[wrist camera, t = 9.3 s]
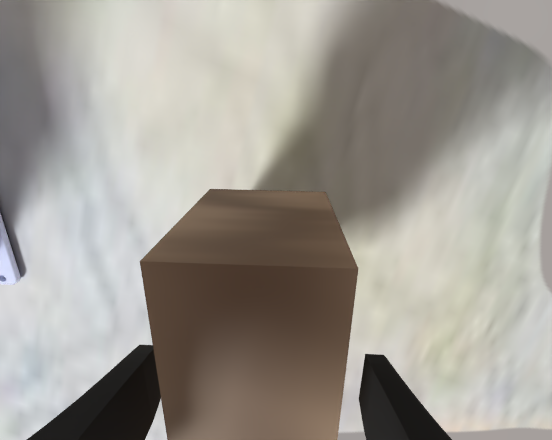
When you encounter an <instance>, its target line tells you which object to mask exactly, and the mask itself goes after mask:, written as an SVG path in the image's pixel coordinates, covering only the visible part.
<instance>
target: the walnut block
mask: <svg viewBox="0 0 552 440" xmlns="http://www.w3.org/2000/svg"><path fill="white" fill-rule="evenodd" d="M140 265H141V271H142V278H143V284H144V291H145V297H146V304H147V310H148V316H149V323H150V329H151V336H152V342H153V349H154V355H155V362H156V368H157V374H158V381H159V387H160V394H161V400H162V407H163V413H164V420H165V426H166V432H167V439H168V440H337V437H338V429H339V421H340V413H341V405H342V397H343V388H344V380H345V372H346V364H347V356H348V348H349V340H350V332H351V323H352V315H353V307H354V299H355V291H356V283H357V275H358V267H357V265H356V262H355V260H354V258H353V255H352V253H351V251H350V248H349V246H348V244H347V241H346V239H345V237H344V234H343V232H342V229H341V227H340V225H339V222H338V220H337V218H336V215H335V213H334V211H333V208H332V206H331V204H330V201H329V199H328V197H327V194H326V192H305V191H267V190H228V189H210V190H209V191H208V192H207V193H206V194H205V195H204V196H203V197H202V198H201V199H200V200H199V201H198V202H197V203H196V204H195V205H194V206H193V207H192V208H191V209H190V210H189V211H188V212H187V213H186V214H185V215H184V216H183V218H182V219H181V220H180V221H179V222H178V223H177V224H176V225H175V226H174V227H173V228H172V229H171V230H170V231H169V232H168V233H167V234H166V235H165V236H164V237H163V238H162V239H161V240H160V241H159V242H158V243H157V244H156V245H155V246H154V247H153V248H152V249H151V250H150V251H149V253H148V254H147V255H146V256H145V257H144V258H143V259H142V260H141V261H140Z"/></svg>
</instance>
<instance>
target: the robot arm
mask: <svg viewBox="0 0 552 440" xmlns="http://www.w3.org/2000/svg"><path fill="white" fill-rule="evenodd" d="M4 276H5V277H4ZM20 279H21V278H20V274H19V271H18V267H17V264H16V261H15V258H14V255H13V251H12V248H11V245H10V242H9V239H8V236H7V232H6V229H5V226H4V223H3V220H2V217H1V213H0V284H15V283H17V282H18V281H20ZM160 399H161V394H160V387H159V381H158V374H157V368H156V362H155V355H154V349H153V345H139V346H138V347H137V348H135V349H134V350H133V351H132V352H131V353H130V354H129V355H127V356H126V357H125V358H124V359H123V360H122V361H121V362H120V363H119V364H117V365H116V366H115V367H114V368H113V369H112V370H111V371H110V372H109V373H107V374H106V375H105V376H104V377H103V378H102V379H101V380H100V381H98V382H97V383H96V384H95V385H94V386H93V387H91V388H90V389H89V390H88V391H87V392H86V393H85V394H83V395H82V396H81V397H80V398H79V399H78V400H76V401H75V402H74V403H73V404H71V405H70V406H69V407H68V408H67V409H65V410H64V411H63V412H62V413H60V414H59V415H58V416H57V417H56V418H54V419H53V420H52V421H51V422H49V423H48V424H47V425H46V426H44V427H43V428H42V429H40V430H39V431H38V432H36V433H35V434H34V435H32V436H31V437H30V438H28V439H27V440H145V438H146V436H147V434H148V431H149V429H150V427H151V425H152V422H153V420H154V417H155V414H156V411H157V408H158V405H159V402H160ZM359 402H360V408H361V415H362V421H363V426H364V432H365V436H366V440H452V439H451V438H450V437H449V436H448V435H447V434H446V432H445V431H444V430H443V429H442V428H441V427H440V426H439V424H438V423H437V422H436V421H435V420H434V418H433V417H432V416H431V415H430V414H429V412H428V411H427V410H426V409H425V408H424V406H423V405H422V404H421V403H420V401H419V400H418V399H417V398H416V396H415V395H414V394H413V393H412V391H411V390H410V389H409V387H408V386H407V385H406V384H405V382H404V381H403V380H402V378H401V377H400V376H399V374H398V373H397V372H396V370H395V369H394V368H393V366H392V365H391V364H390V362H389V361H388V359H387V358H386V357H385V356H384V355H374V354H365V360H364V367H363V374H362V381H361V388H360V395H359Z"/></svg>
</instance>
